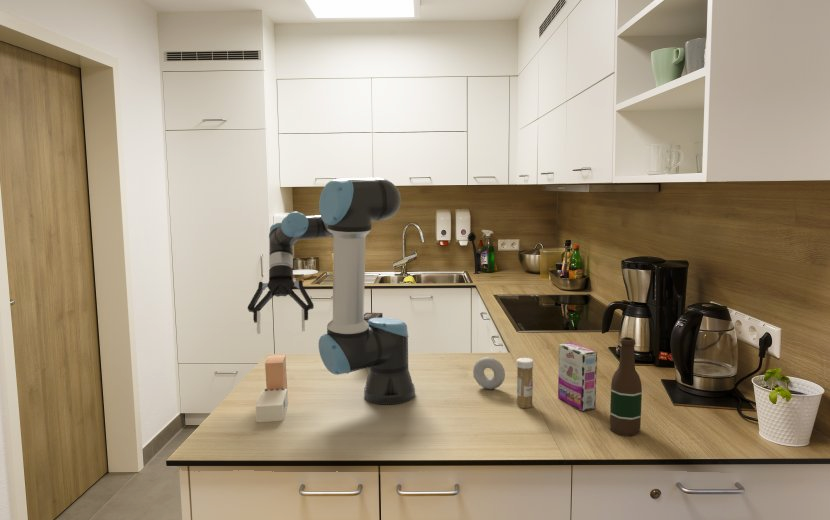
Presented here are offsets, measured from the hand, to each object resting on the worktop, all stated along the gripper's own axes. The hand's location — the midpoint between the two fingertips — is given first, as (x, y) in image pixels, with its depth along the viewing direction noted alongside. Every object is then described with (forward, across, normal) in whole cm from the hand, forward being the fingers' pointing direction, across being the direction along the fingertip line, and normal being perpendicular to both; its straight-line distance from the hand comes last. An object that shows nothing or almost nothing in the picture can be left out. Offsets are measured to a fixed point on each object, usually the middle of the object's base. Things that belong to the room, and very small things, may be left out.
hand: (281, 331), depth 182 cm
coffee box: (+3, -30, -28) cm, 41 cm away
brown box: (+20, +1, -1) cm, 21 cm away
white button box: (+26, +2, +7) cm, 27 cm away
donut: (+23, -62, +3) cm, 67 cm away
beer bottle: (+42, -88, +32) cm, 103 cm away
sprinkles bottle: (+31, -69, +15) cm, 77 cm away
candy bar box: (+32, -84, +16) cm, 91 cm away
